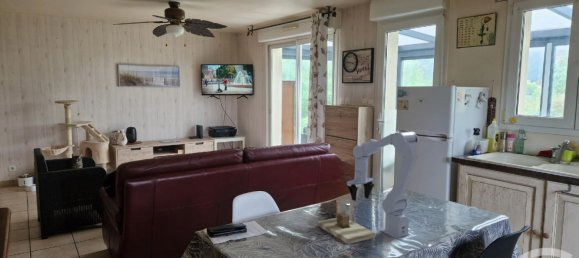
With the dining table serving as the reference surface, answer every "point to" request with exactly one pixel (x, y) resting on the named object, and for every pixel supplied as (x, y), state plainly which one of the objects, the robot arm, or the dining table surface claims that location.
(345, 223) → the walnut flat peg
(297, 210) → the dining table surface
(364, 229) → the slot board
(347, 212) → the metal round peg
